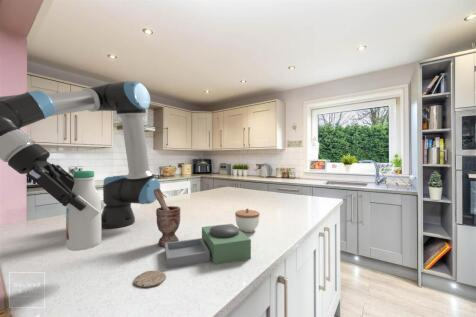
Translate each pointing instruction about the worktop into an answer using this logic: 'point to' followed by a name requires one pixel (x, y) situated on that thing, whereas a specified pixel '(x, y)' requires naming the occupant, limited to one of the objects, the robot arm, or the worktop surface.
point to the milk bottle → (77, 225)
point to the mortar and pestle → (166, 219)
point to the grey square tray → (186, 252)
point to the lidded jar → (247, 220)
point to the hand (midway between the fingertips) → (99, 212)
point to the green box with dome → (226, 243)
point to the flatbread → (149, 278)
